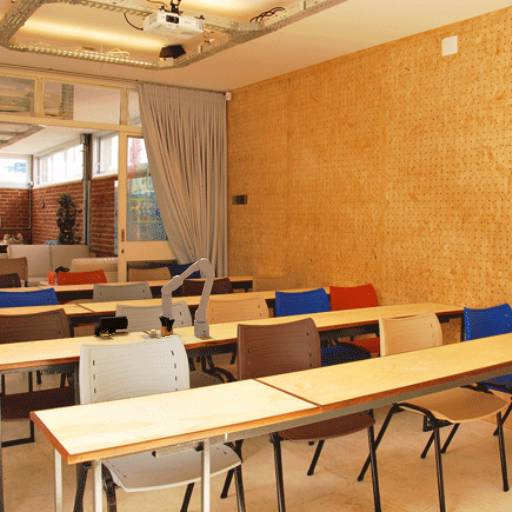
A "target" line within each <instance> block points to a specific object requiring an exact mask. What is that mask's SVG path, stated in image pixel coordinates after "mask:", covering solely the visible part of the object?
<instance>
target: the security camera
mask: <svg viewBox="0 0 512 512" xmlns="http://www.w3.org/2000/svg"><path fill="white" fill-rule="evenodd" d="M128 327H129V319H128V317H127V316H125V315H121V316H120V315H119V316H118V315H117V316H106V317H99V319H98V327H97V328H96V329H95V330H94V336H95V337H101V336H102V335H101V334H106V333H107V334H108V336H111V334H116V333H117V330H118V331H119V330H127V328H128Z"/></svg>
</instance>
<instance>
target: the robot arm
mask: <svg viewBox="0 0 512 512" xmlns="http://www.w3.org/2000/svg"><path fill="white" fill-rule="evenodd" d="M198 271H201V272H203V274H204V276H205V280H204V285H203V289H202V292H201V296H200V300H199V305H198V308H196V310H195V312H194V321H193V333H194V334H193V335H194V336H195V337H199V338H203V337H204V338H205V337H210V325H209V324H208V319H207V307H208V304H209V301H210V296H211V292H212V288H213V285H214V280H215V276H216V273H215V271H214V268H213V266H212V263H211V262H210V260H209V259H208V258H206V257H202V258H200V259H199V260H197V261H196V262H194V263H192V264H191V265H190V266H189V267H188V268H186V270H185V271H183V272H182V273H181V274H179V275H175V276H174V275H173V276H172V279H170V280H169V281H167V282H165V284H164V285H163V286H162V287H161V289H160V292H161V312H160V314H159V317H158V319H159V321H160V323H161V327H162V326H167V332H171V331H172V327H173V325H174V323H175V322H176V319H175V318H174V315H173V297H172V292H173V291H176V290H177V289H178V288H179V287H180V286H182V285H183V284H184V280H185V279H186V278H188V277H189V276H190V275H192V274H193V273H194V272H198Z"/></svg>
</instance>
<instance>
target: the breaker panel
mask: <svg viewBox="0 0 512 512" xmlns="http://www.w3.org/2000/svg"><path fill="white" fill-rule="evenodd" d="M173 335H179V336H178V337H181V335H180V334H177V333H176V332H174V331H173ZM139 336H140V337H141V338H143V339H145V340H153V339H155V340H156V339H162V338H161V337H165V336H162V335H161V332H159V333H157V332H156V334H151V333H150V332H149V333H148V334H141V335H140V334H139ZM168 336H170V335H168Z"/></svg>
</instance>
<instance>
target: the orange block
mask: <svg viewBox="0 0 512 512" xmlns="http://www.w3.org/2000/svg"><path fill="white" fill-rule="evenodd" d="M173 332H174V327H173V326H172V331H171V332H167V326H162V325H161V326H160V333H161V335H162V336H168V335H173Z"/></svg>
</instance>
